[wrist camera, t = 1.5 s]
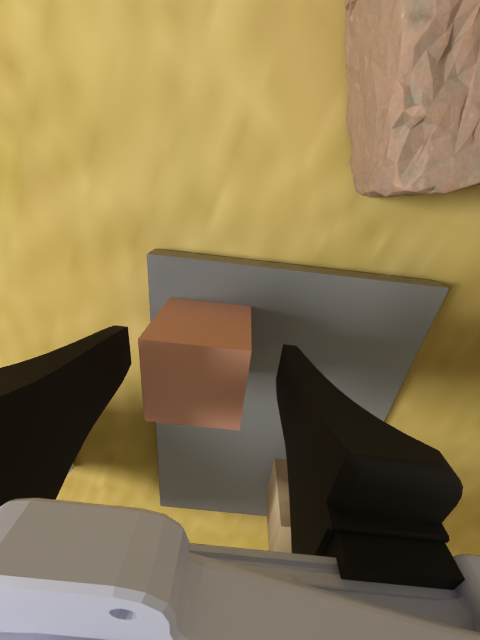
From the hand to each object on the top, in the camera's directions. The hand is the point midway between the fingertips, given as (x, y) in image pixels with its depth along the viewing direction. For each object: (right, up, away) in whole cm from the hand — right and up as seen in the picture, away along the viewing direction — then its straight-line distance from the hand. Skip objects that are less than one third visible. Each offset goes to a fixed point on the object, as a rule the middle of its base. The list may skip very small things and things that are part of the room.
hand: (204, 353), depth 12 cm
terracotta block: (0, +1, +1) cm, 2 cm away
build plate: (+3, -5, +5) cm, 8 cm away
